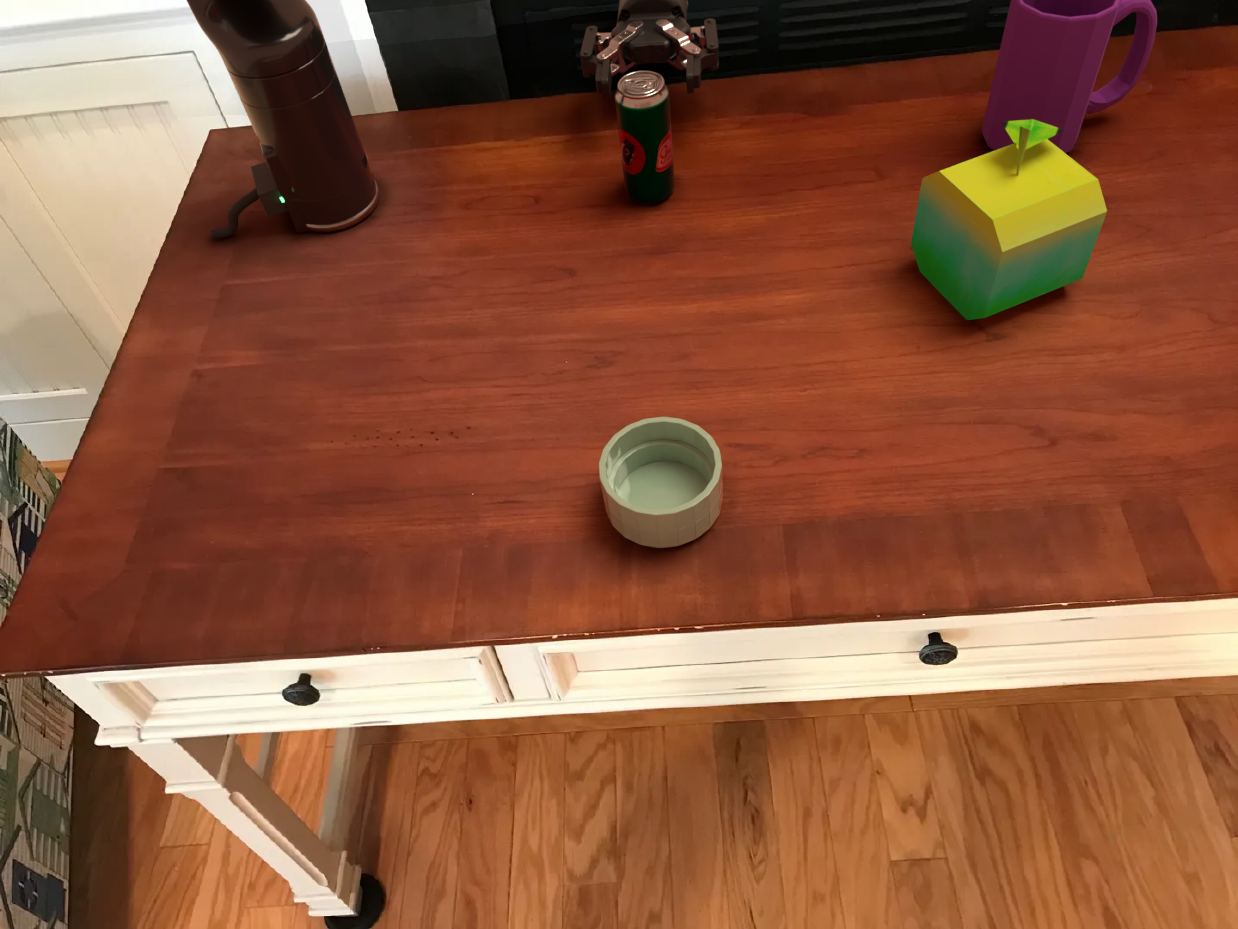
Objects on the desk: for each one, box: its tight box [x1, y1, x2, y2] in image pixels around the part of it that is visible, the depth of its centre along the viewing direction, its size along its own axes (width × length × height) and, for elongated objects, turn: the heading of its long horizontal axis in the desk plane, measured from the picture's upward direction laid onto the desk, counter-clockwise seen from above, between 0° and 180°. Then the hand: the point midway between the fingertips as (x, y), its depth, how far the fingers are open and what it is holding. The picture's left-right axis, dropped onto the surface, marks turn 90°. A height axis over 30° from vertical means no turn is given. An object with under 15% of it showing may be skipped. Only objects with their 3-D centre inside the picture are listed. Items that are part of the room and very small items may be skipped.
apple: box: [910, 119, 1108, 321], centre depth 82 cm, size 11×10×15 cm
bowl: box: [598, 416, 724, 549], centre depth 74 cm, size 9×9×5 cm
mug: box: [981, 0, 1158, 154], centre depth 93 cm, size 9×16×15 cm, turn 106°
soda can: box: [614, 70, 676, 205], centre depth 95 cm, size 5×5×12 cm
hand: (647, 87), depth 99 cm, fingers open, 8 cm apart
